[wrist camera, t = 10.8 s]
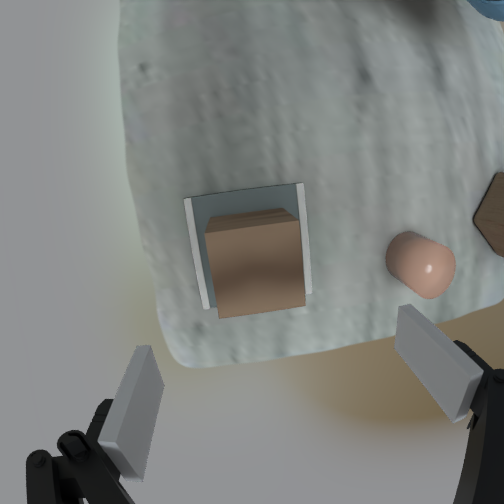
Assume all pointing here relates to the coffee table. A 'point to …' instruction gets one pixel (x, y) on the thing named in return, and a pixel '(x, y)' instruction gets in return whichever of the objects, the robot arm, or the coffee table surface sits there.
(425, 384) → the robot arm
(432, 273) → the pink cylinder
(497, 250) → the wooden block
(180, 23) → the coffee table surface
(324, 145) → the coffee table surface
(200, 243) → the mat
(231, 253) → the cube
